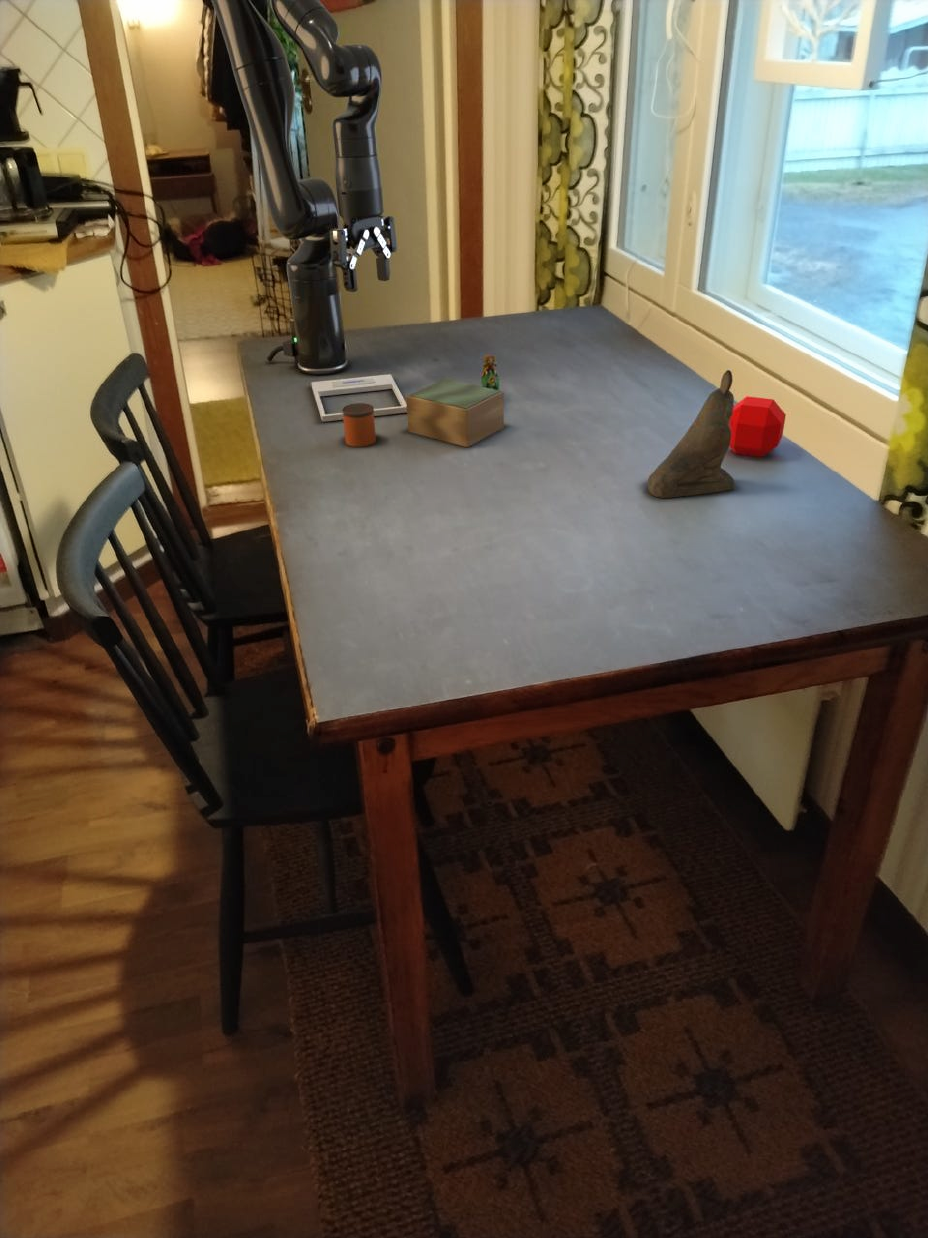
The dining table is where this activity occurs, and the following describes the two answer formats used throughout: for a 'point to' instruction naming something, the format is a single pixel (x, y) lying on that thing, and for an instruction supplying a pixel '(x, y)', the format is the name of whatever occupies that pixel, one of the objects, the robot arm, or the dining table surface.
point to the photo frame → (357, 386)
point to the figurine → (490, 374)
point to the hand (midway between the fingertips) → (367, 285)
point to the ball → (756, 426)
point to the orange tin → (359, 424)
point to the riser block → (455, 412)
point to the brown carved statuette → (699, 451)
